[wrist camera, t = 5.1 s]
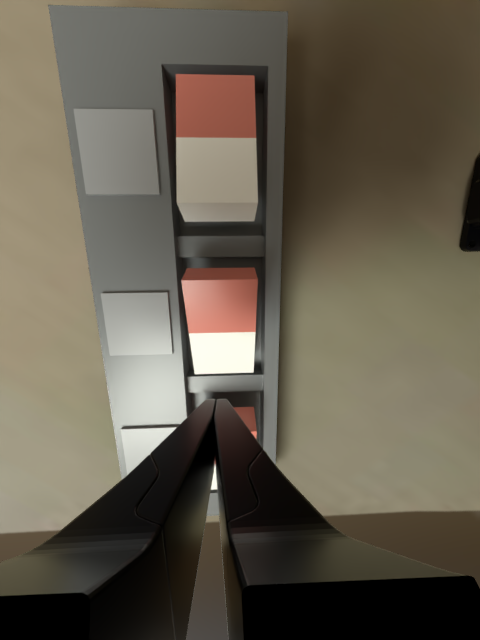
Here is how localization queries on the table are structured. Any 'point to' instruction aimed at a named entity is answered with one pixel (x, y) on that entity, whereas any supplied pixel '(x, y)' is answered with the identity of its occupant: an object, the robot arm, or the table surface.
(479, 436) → the table surface
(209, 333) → the block
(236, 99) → the rocker
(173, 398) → the power board
